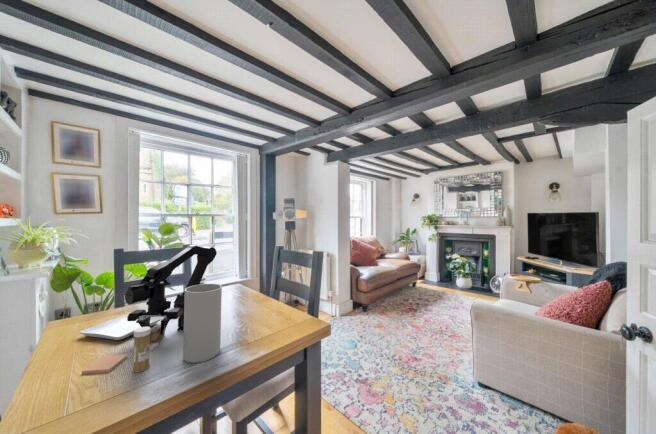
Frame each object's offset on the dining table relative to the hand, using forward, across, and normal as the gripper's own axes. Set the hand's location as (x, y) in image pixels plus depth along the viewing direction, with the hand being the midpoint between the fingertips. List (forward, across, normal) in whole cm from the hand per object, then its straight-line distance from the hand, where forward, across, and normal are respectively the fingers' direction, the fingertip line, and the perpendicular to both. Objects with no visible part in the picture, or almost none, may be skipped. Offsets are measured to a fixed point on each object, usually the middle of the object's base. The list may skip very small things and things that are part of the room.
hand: (155, 334), depth 103 cm
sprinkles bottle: (+2, -6, +21) cm, 22 cm away
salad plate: (+3, +19, -12) cm, 23 cm away
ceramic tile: (+2, +7, +13) cm, 15 cm away
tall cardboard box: (+2, 0, +3) cm, 3 cm away
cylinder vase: (+2, -23, +14) cm, 27 cm away
